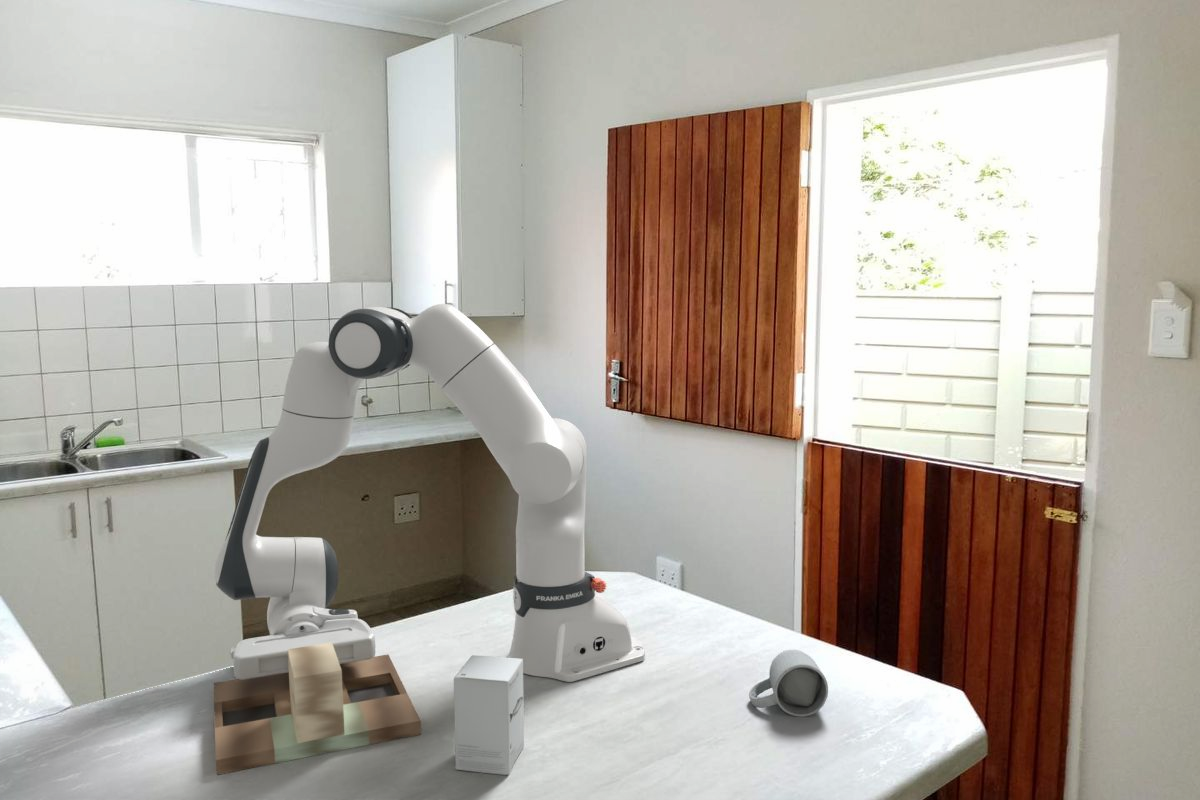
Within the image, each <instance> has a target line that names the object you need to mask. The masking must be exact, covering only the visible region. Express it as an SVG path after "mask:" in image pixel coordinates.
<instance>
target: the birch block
mask: <svg viewBox="0 0 1200 800" xmlns="http://www.w3.org/2000/svg"><path fill="white" fill-rule="evenodd" d="M288 667H289V685H290V704H291V714H292V719H293V724H294V729H295V734H296V739H297V743H302V742H307V741H313V740H318V739H323V738H328V737H333V736H339V735H344V711H343V688H342V670H341V667H340V664H339V661H338V658H337V655H336V652H335V649H334V647H333V644H332V643H325V644H319V645H312V646H306V647H299V648H293V649H288Z"/></svg>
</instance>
